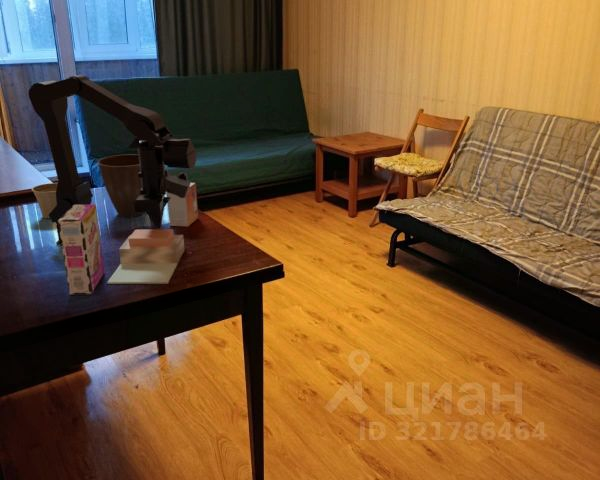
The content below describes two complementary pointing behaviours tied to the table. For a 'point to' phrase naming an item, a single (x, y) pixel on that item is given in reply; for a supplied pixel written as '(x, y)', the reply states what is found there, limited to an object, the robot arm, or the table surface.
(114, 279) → the mat
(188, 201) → the small box
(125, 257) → the deck
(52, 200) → the flower pot
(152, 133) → the robot arm
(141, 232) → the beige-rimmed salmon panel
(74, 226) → the candy bar box
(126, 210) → the plant pot
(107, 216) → the table surface
